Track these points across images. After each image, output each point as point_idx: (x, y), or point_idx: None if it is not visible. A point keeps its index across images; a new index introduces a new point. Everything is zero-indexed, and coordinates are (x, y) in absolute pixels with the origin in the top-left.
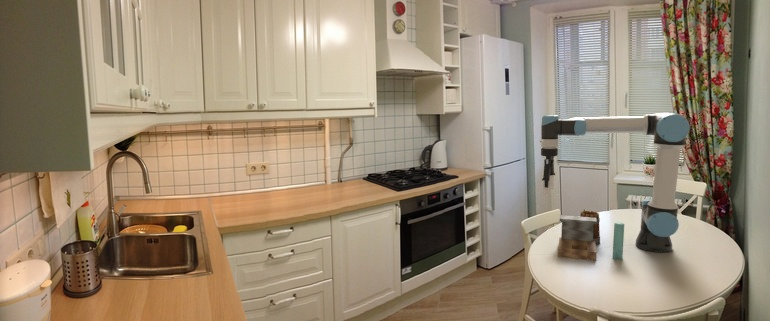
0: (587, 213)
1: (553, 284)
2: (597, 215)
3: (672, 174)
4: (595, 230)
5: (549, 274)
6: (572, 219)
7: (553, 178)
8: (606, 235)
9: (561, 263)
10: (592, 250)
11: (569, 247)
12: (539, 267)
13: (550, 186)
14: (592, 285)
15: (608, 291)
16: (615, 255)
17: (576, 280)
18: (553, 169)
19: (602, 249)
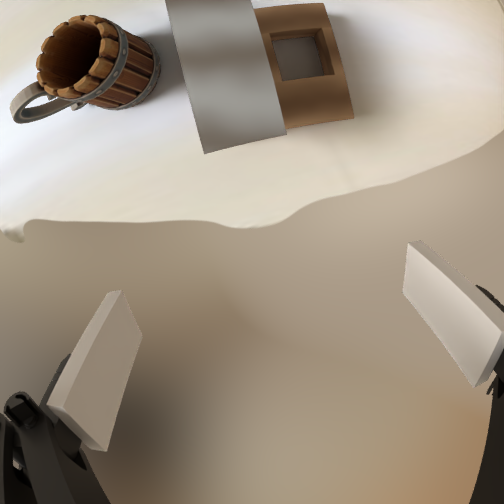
0: (49, 78)
1: (493, 115)
2: (84, 16)
3: None
4: (128, 32)
5: (462, 125)
6: (267, 67)
7: (64, 372)
8: None
9: (390, 101)
10: (312, 13)
11: (324, 83)
12: (438, 153)
13: (124, 326)
14: (465, 39)
15: (470, 17)
16: None
17: (462, 67)
18: (3, 472)
19: None
